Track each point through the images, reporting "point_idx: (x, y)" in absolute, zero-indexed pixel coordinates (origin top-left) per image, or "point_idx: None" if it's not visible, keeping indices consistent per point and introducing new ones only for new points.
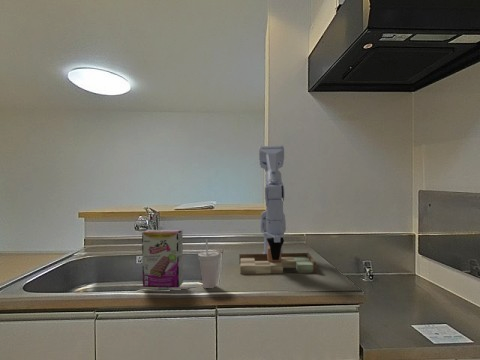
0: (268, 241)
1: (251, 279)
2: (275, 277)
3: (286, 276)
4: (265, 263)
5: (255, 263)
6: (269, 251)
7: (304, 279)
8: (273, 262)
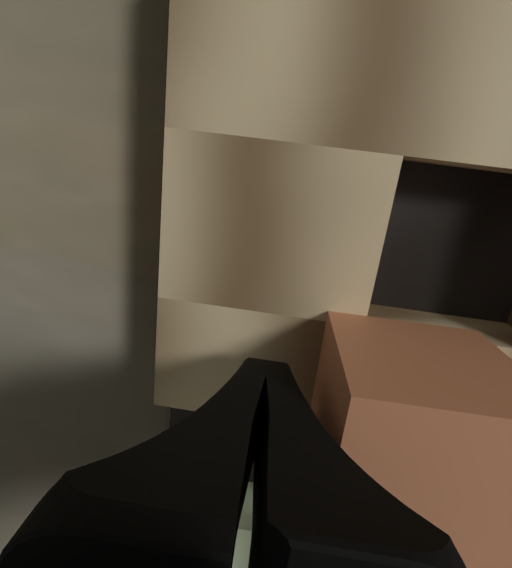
0: (36, 505)
1: (11, 64)
2: (67, 286)
3: (90, 368)
4: (258, 264)
5: (283, 146)
6: (338, 388)
7: (21, 453)
8: (282, 353)
